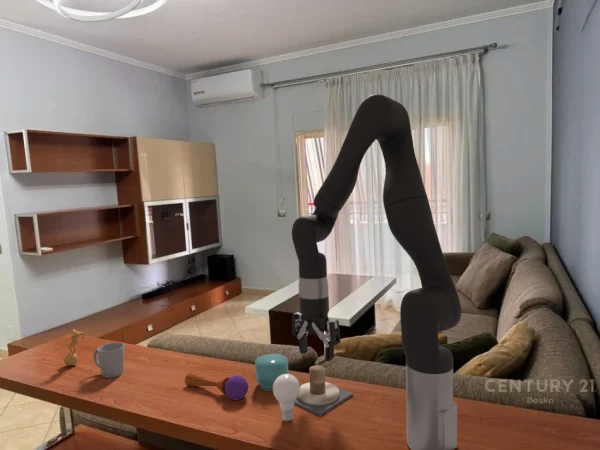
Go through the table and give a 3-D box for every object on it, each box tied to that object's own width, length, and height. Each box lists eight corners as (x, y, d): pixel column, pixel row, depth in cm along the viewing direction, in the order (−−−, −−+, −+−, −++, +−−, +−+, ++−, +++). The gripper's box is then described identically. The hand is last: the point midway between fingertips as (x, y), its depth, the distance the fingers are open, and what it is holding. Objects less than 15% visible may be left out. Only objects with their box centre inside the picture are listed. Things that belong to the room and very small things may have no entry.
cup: (114, 381, 122) (112, 352, 121) (86, 377, 125) (84, 350, 124) (131, 370, 129) (130, 343, 129) (104, 367, 132) (102, 340, 131)
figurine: (77, 359, 139) (74, 324, 138) (91, 361, 137) (89, 325, 136) (55, 370, 131) (52, 332, 130) (70, 372, 129) (66, 334, 128)
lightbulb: (286, 410, 103) (284, 366, 102) (306, 418, 99) (305, 373, 98) (268, 422, 98) (266, 376, 97) (288, 431, 94) (287, 384, 93)
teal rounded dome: (295, 383, 117) (294, 359, 116) (271, 396, 111) (270, 370, 110) (273, 374, 123) (272, 351, 123) (249, 385, 117) (248, 361, 116)
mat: (353, 395, 110) (352, 393, 110) (320, 416, 100) (320, 413, 100) (315, 380, 119) (315, 378, 118) (282, 398, 109) (282, 396, 109)
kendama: (197, 366, 122) (252, 374, 111) (196, 387, 121) (252, 398, 111) (181, 370, 117) (238, 379, 106) (180, 392, 116) (238, 404, 106)
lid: (347, 393, 109) (347, 367, 109) (319, 410, 102) (319, 382, 101) (315, 381, 117) (315, 356, 116) (287, 396, 109) (286, 369, 109)
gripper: (345, 294, 105) (347, 358, 106) (303, 287, 114) (305, 346, 116) (326, 301, 99) (328, 368, 100) (283, 293, 109) (286, 354, 110)
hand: (316, 356), depth 108 cm, fingers open, 8 cm apart
